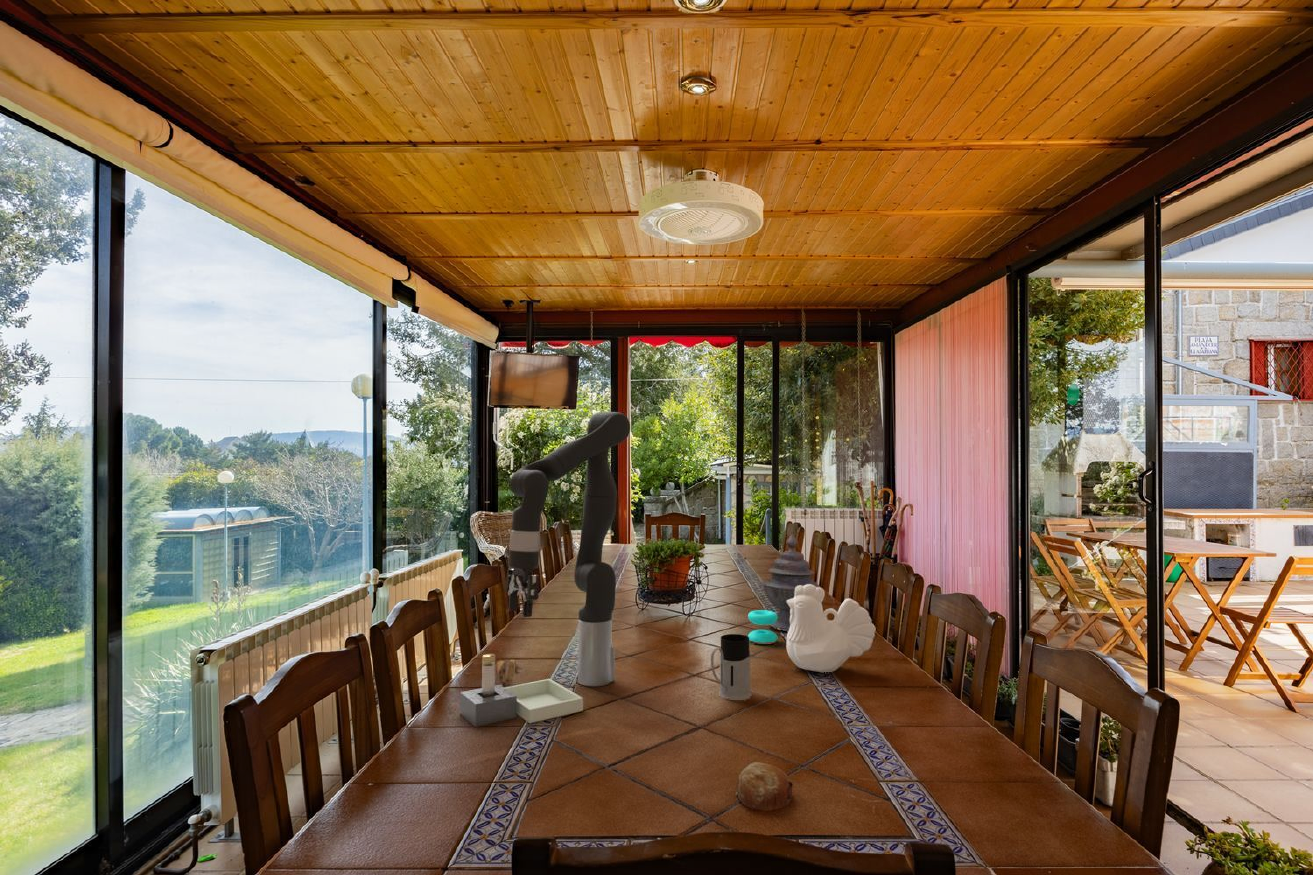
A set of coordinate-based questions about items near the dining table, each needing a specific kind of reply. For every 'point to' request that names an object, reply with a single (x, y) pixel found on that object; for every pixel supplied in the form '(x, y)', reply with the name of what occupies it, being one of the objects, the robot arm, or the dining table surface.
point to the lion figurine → (506, 672)
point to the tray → (545, 700)
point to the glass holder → (733, 667)
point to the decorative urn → (787, 581)
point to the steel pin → (488, 675)
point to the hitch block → (488, 706)
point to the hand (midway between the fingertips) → (519, 613)
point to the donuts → (762, 619)
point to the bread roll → (764, 787)
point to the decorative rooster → (825, 631)
